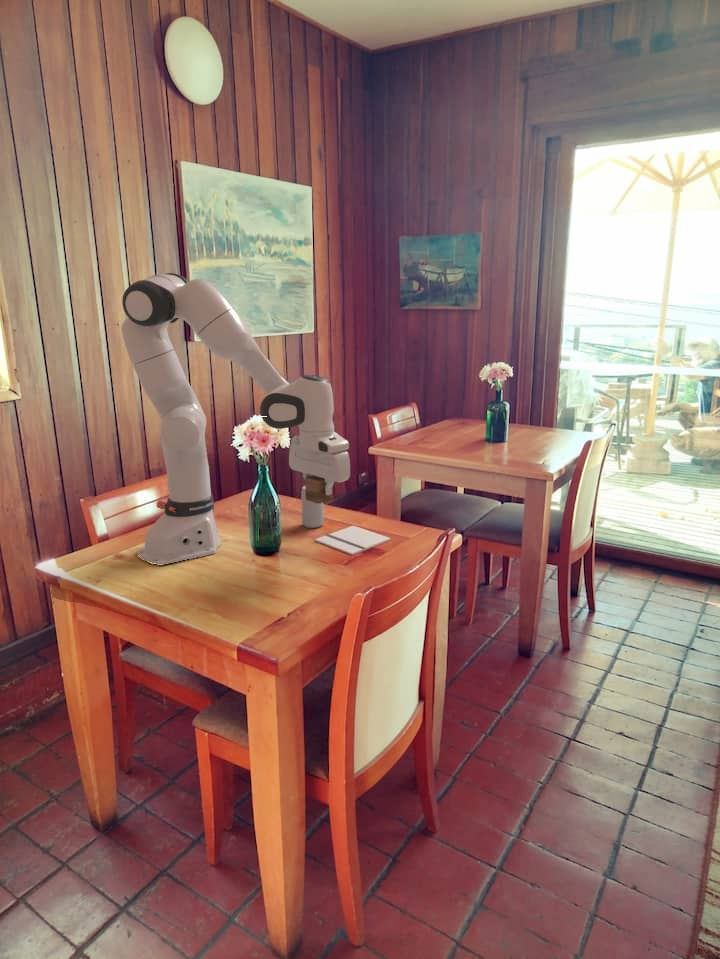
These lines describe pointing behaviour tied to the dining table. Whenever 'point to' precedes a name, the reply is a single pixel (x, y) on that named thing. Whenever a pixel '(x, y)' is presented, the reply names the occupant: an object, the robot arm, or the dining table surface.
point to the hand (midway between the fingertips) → (319, 491)
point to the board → (352, 540)
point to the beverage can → (311, 512)
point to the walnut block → (316, 490)
